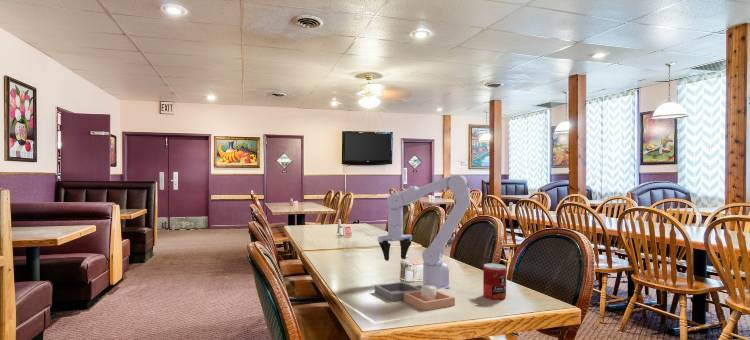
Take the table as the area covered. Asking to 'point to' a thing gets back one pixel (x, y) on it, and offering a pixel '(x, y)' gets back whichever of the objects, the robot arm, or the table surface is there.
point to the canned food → (494, 281)
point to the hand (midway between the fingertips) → (395, 259)
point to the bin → (394, 290)
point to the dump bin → (440, 301)
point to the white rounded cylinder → (428, 292)
